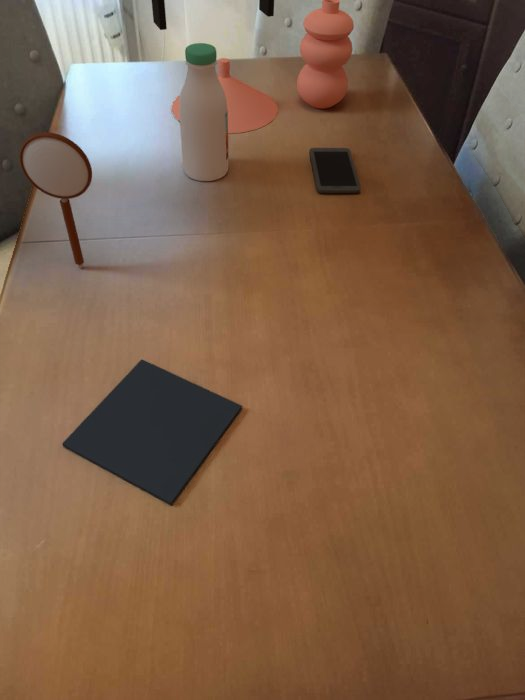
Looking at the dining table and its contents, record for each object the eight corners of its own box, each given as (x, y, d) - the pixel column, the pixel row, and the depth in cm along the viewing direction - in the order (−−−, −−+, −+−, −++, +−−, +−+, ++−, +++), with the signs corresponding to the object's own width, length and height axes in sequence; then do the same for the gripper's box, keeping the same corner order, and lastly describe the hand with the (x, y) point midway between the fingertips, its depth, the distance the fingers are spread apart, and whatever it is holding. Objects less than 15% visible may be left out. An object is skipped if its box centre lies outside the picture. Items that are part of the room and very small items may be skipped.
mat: (62, 446, 64) (61, 443, 63) (142, 362, 72) (141, 358, 72) (171, 506, 59) (171, 503, 59) (242, 408, 68) (242, 405, 67)
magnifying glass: (112, 266, 84) (86, 132, 70) (109, 274, 83) (82, 139, 68) (52, 261, 85) (14, 126, 70) (48, 269, 83) (8, 134, 69)
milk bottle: (223, 185, 99) (221, 60, 85) (178, 179, 100) (168, 55, 85) (232, 161, 105) (231, 40, 90) (189, 156, 105) (181, 35, 91)
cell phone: (348, 151, 108) (349, 147, 107) (361, 194, 99) (361, 190, 98) (308, 151, 108) (308, 147, 107) (317, 194, 98) (317, 190, 98)
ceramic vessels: (175, 136, 110) (166, 26, 96) (168, 86, 124) (159, -16, 110) (358, 126, 115) (374, 20, 101) (331, 80, 129) (342, -19, 115)
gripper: (84, -224, 50) (120, 43, 66) (343, -222, 58) (321, 17, 73) (66, -231, 55) (104, 20, 70) (308, -229, 62) (294, -2, 78)
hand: (214, 19), depth 72 cm, fingers open, 13 cm apart
